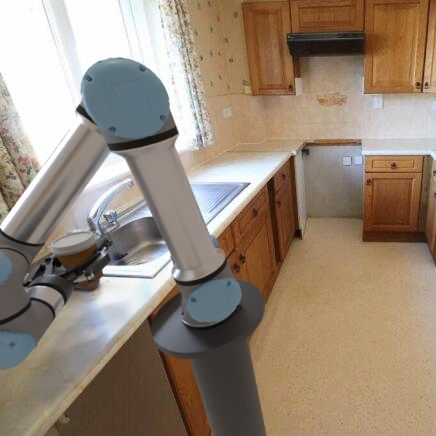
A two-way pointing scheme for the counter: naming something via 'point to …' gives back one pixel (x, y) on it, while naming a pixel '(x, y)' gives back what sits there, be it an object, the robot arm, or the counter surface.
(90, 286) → the brown rounded cylinder
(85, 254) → the disposable coffee cup
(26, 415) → the counter surface
